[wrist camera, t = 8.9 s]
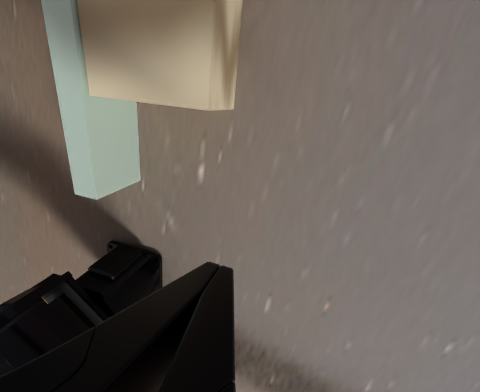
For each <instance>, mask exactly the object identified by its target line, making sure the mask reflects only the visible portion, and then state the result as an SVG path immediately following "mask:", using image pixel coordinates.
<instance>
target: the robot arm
mask: <svg viewBox="0 0 480 392" xmlns="http://www.w3.org/2000/svg"><path fill="white" fill-rule="evenodd" d="M107 252H108V254H106V255H105V256H103V257H102V258H101V259H99V260H98V261H97V262H95V263H94V264H93V265H91V266H90V267H89V268H88V271H87V272H86V273H84V274H83V275H82V276H80V277H79V278H78V279H76V280H75V279H74V278H73V277H72V276H73V275H72V274H71V273H70V272H69V271H68V272H66V273H64V274H63V275H57V274H54V273H53V274H52V275H50V276H49V277H47V278H46V279H44V280H43V281H41V282H40V283H38V284H37V285H35V286H33V287H32V288H30V289H28V290H26V291H24V292H23V293H21V294H19V295H17V296H15V297H13V298H11V299H10V300H8V301H6V302H4V303H2V304H1V305H0V392H236V388H235V339H234V279H233V269H232V268H229V267H226V266H220V265H219V264H215V263H212V262H206V263H204V264H203V265H201V266H199V267H197V268H196V269H194V270H192V271H191V272H189V273H187V274H185V275H184V276H182V277H180V278H178V279H177V280H175V281H173V282H171V283H170V284H168V285H166V286H164V287H163V288H162V258H161V256H160V255H158V254H156V253H152V252H149V251H145V250H142V249H139V248H135V247H132V246H128V245H125V244H122V243H118V242H115V241H110V242H108V243H107ZM44 299H45V300H46V302H47V303H48V304H47V303H46V302H45V301H44Z"/></svg>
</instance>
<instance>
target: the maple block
mask: <svg viewBox="0 0 480 392" xmlns="http://www.w3.org/2000/svg"><path fill="white" fill-rule="evenodd" d="M242 3H243V0H77V7H78V14H79V21H80V28H81V36H82V43H83V50H84V57H85V65H86V72H87V79H88V86H89V94H90V96H95V97H103V98H111V99H119V100H127V101H135V102H143V103H151V104H159V105H167V106H175V107H183V108H191V109H200V110H208V111H210V110H233V109H234V98H235V86H236V75H237V63H238V51H239V39H240V27H241V15H242Z"/></svg>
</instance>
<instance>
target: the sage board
mask: <svg viewBox="0 0 480 392" xmlns="http://www.w3.org/2000/svg"><path fill="white" fill-rule="evenodd" d="M41 2H42V8H43V14H44V19H45V25H46V31H47V37H48V43H49V48H50V54H51V60H52V66H53V71H54V77H55V83H56V89H57V94H58V100H59V106H60V112H61V118H62V123H63V129H64V135H65V141H66V146H67V152H68V158H69V164H70V169H71V175H72V181H73V187H74V193H75V194H76V195H80V196H84V197H87V198H91V199H95V200H98V199H100V198H102V197H104V196H107V195H109V194H111V193H113V192H116V191H118V190H120V189H122V188H125V187H127V186H129V185H131V184H134V183H136V182H138V181H140V180H141V177H140V158H139V138H138V118H137V102H135V101H127V100H119V99H111V98H103V97H95V96H90V94H89V86H88V79H87V72H86V65H85V57H84V50H83V43H82V36H81V28H80V21H79V14H78V7H77V0H41Z"/></svg>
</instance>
